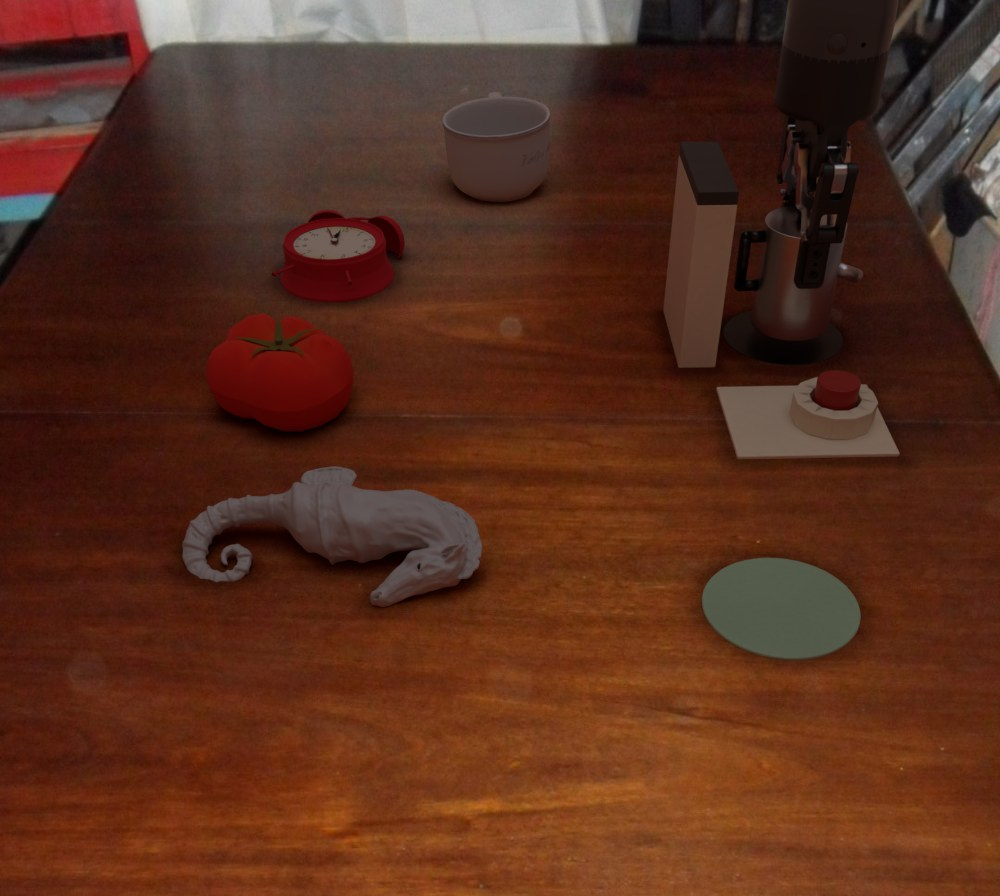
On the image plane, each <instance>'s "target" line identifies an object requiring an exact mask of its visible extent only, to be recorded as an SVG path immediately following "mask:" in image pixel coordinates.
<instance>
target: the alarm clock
mask: <svg viewBox="0 0 1000 896" xmlns="http://www.w3.org/2000/svg"><path fill="white" fill-rule="evenodd" d="M405 243H406V242H405V235H404V232H403V230H402V228H401V226H400V224H399V223H398V222H397V221H396V220H395V219H393V218H391V217H389V216H387V215H376V216H372V217H364V216H353V217H352V216H351V217H347V218H346V217H345V216H344V215H343V214H341V213H340V212H338V211H335V210H332V209H323V210H319V211H316V212H315V213H313V214H312V215H311V216H310V217H309V219H308V221H307V222H305V223H302V224H299V225H297V226H296V227H293V228H292V229H290V230H289V231H288V232H287V233H286V234H285V236H284V238H283V243H282V250H283V256H284V265H283V268H281V269H278V270H277V271H276V270H273V271H272V272H271V276H272V277H277V276H278V275H279V274H280V283H281V286H282V287H283V289H284V290H285V291H286V292H288V293H289V294H290V295H292V296H294V297H297V298H299V299H303V300H306V301H311V302H318V303H328V304H329V303H332V304H333V303H347V302H355V301H359V300H363V299H366V298H370V297H372V296H375V295H377V294H379V293H381V292H383V291H384V290H386V289H387V288H388V287H390V285H391V284H393V281H394V279H395V268H394V267H393V265H392V263H391V262H390V259H389V258H388V255H387V251H389V252H392V253H395V254H397V255H398V257H397V260H399V259H400V258H401V257H402V256H403V253H404V252H405V251H404V250H405V245H406V244H405Z"/></svg>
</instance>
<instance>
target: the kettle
mask: <svg viewBox="0 0 1000 896" xmlns="http://www.w3.org/2000/svg"><path fill="white" fill-rule="evenodd" d="M801 217H802V213H801V211H800V210H799V209H797V207H796V206H786V207H782V206H781V207H778V208H775V209H773V210H771V211H770V212H768V213H767V214H766V216H765V218H764V223H763V229H757V230H755V229H754V230H744V231H742V232H741V234H740V237H739V243H738V252H737V260H736V267H735V274H734V283H733V288H734V290H735V291H736V292H754V293H753V300H752V306H751V311H752V313H751V324H752V326H753V327H754V328H755V329H756V330H757V331H758V332H760V333H761V334H763V335H765V336H768V337H771V338H774V339H779V340H785V341H804V340H810V339H814V338H817V337H819V336H821V335H822V334H824V333H825V332H826V330H827V328H828V325H829V323H830V319H831V314H832V308H833V305H834V298H835V293H836V287H837V282H838V278H839V279H842V280H844V281H847V282H851V283H853V284H857V283H860V282H861V281H862V280H863V278H864V271H862V270H861V269H860V268H858V267H855V266H852V265H849V264H847V263H843V262H842V258H843V251H844V248H845V247H844V246H845V241H846V236H847V232H848V231H847V230H848V222H847V223H846V228H845V232H844V238H843V241H842V243H833V244H830V250H829V255H828V260H827V266H826V271H825V276H824V282H823V285H822V286H821V287H820V288H817V289H798V288H797V287H796V286H795V283H794V274H795V268H796V262H797V256H798V250H799V244H800V239H801V238H800V231H801ZM820 225H827V215H824V216H822V218H821V222H820ZM755 243H757V244H758V243H759V244H760V243H761V244H760V250H759V259H758V265H757V272H756V278H747V276H748V269H749V259H750V255H751V254H750V253H751V245H752V244H755Z"/></svg>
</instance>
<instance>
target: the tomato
mask: <svg viewBox="0 0 1000 896" xmlns="http://www.w3.org/2000/svg"><path fill="white" fill-rule="evenodd" d="M205 367H206V369H205V370H206V372H205V373H206V379H205V380H206V382H207V384H208V387H209V389H210V392H211V394H212V396H213V398H214V400H215V402H217V404H218V405H219V406H220V407H221V408H222V409H223V410H224V411H226V412H228V413H230V414H231V415H234V416H236V417H239V418H241V419H245V420H256V421H257V422H259V423H260V424H262V425H264V426H266V427H269V428H273V429H276V430H279V431H281V432H287V433H288V432H303V431H307V430H310V429H315V428H318V427H320V426H321V427H322V426H323V425H325V424H327V423H329V422H331V421H332V420H335V419H336V418H337V417H338V416H339V415H340V414H341V413H342V411H343V410H344V409H345V408H346V407H347V405H348V403H349V401H350V398H351V396H352V391H353V387H354V376H355V369H354V366H353V361H352V358H351V355H350V353H349V352H348V351H347V349H346V347H345V346H344V345H343V343H342V342H340V340H338V339H336V338H334V337H333V336H331V335H329V334H327V333H326V332H325V330H323V329H322V327H320V328H319V327H316V326H315V325H313V324H311V322H309V321H308V320H307V319H304V318H301V317H298V316H295V315H289V316H285V317H283V318H281V317H280V315H279V316H278V317H277V319H275V318H273V317H272V316H270V315H269V314H267V313H264V312H263V313H258V314H250V315H248V316H246V317H244V318H243V319H241V320H240V321H238V322H237V323H236V324H234V325H233V326H231V327H230V328H229V329H228V332H227V335H226V339H225V341H223V342H222V343H221V344H219V345H218V346H216V347H214V348H213V349H212V351H211V353H210V355H209V357H208V359H207V362H206V366H205Z"/></svg>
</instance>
